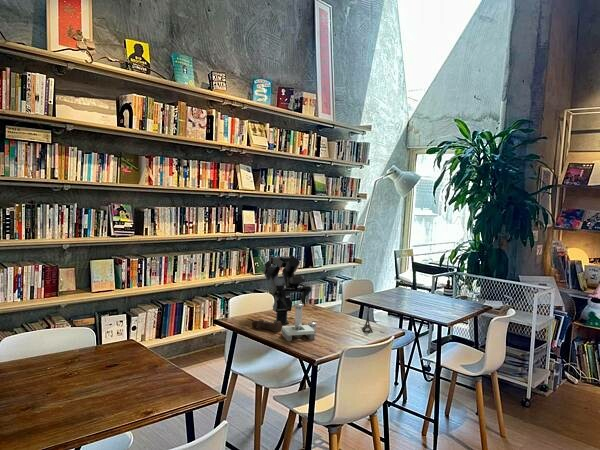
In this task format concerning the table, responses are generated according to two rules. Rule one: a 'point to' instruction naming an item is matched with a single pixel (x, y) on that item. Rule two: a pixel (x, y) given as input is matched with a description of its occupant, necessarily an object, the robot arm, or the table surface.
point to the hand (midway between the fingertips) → (295, 305)
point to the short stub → (313, 325)
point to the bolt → (268, 325)
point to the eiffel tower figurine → (367, 326)
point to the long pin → (298, 318)
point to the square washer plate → (297, 332)
